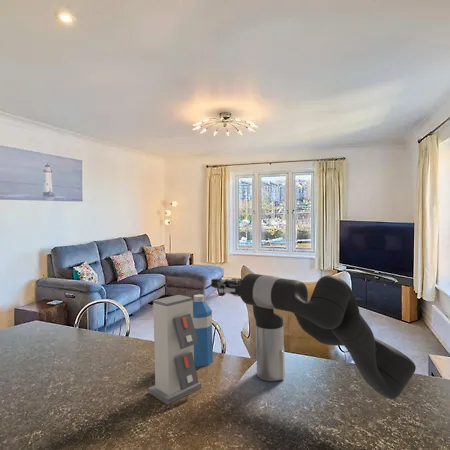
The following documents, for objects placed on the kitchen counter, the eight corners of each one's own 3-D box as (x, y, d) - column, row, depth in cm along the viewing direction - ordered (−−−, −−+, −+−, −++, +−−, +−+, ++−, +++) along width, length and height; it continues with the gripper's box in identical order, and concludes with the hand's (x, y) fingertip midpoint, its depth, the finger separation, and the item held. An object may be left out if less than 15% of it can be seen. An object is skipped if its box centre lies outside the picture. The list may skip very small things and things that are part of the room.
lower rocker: (180, 389, 97) (174, 358, 99) (196, 382, 102) (189, 352, 103) (183, 390, 96) (177, 358, 98) (199, 382, 101) (192, 352, 102)
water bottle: (214, 356, 129) (213, 292, 129) (211, 367, 120) (209, 298, 120) (190, 356, 130) (189, 292, 130) (185, 366, 121) (184, 298, 121)
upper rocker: (180, 349, 97) (172, 318, 99) (196, 343, 101) (188, 314, 104) (183, 348, 96) (175, 317, 98) (198, 342, 100) (190, 313, 103)
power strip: (148, 392, 103) (146, 300, 103) (181, 378, 112) (179, 293, 112) (167, 404, 96) (165, 305, 96) (201, 387, 105) (199, 297, 105)
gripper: (246, 312, 74) (195, 300, 86) (280, 301, 83) (230, 292, 96) (245, 279, 74) (194, 272, 86) (279, 271, 83) (229, 266, 95)
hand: (213, 282), depth 91 cm, fingers closed
